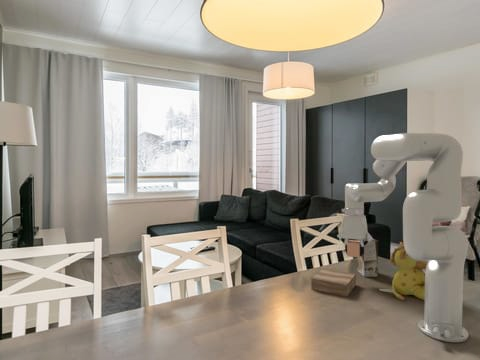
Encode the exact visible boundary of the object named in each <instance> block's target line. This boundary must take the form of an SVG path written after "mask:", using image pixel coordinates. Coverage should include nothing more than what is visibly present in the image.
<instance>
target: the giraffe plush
mask: <svg viewBox="0 0 480 360" xmlns="http://www.w3.org/2000/svg"><path fill="white" fill-rule="evenodd" d="M390 263H391V264H392V265H394V266H395V267H398V270H397V272H396V273H395V274H394V276H393V278H392V283H391V289H384V288H379V291H381V292H385V293H393V294H394V295H395V297H396V298H397V299H398V300H400V301H404V300H405V297H404V296H414V297H416V298H418V299H420V300H422V301H425V271H424V270H426V266H427V263H428V261H415V260H413V259H412V258H410V257H409V256H408V254H407V253H406V251H405V248H404V243H403V241H400V242H399V246H398V247H396V248H394V249H393V251H392V253H391V256H390Z"/></svg>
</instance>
